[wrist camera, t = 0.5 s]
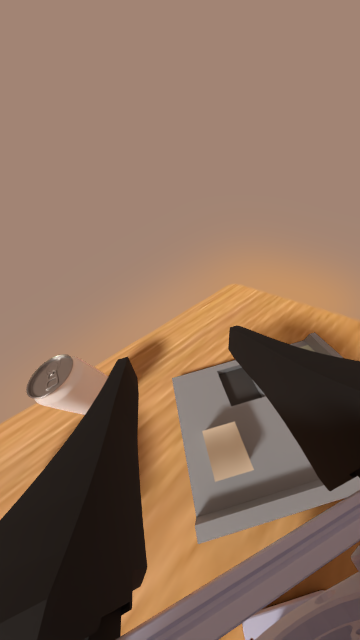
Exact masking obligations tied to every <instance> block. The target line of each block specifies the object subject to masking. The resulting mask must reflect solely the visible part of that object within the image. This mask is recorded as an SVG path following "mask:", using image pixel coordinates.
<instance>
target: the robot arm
mask: <svg viewBox="0 0 360 640" xmlns="http://www.w3.org/2000/svg"><path fill="white" fill-rule="evenodd" d="M229 351H230V352H231V354H232V355H233V357H234V358H235V360H236V361H237V362H238V363H239V365H240V366H241V367H242V368H243V369H244V371H245V372H246V373H247V374H248V375H249V376H250V377H251V379H252V380H253V381H254V382H255V383H256V384H257V385H258V387H259V388H260V389H261V390H262V392H263V393H264V394H265V396H266V397H267V398H268V400H269V401H270V402H271V404H272V405H273V407H274V408H275V409H276V411H277V412H278V414H279V415H280V417H281V418H282V420H283V421H284V423H285V424H286V426H287V427H288V429H289V430H290V432H291V433H292V435H293V437H294V438H295V440H296V441H297V443H298V444H299V446H300V448H301V449H302V451H303V453H304V454H305V456H306V457H307V459H308V461H309V462H310V464H311V466H312V467H313V469H314V471H315V473H316V474H317V476H318V478H319V479H320V480H321V482H322V483H323V484H324V486H325V487H326V488H327V489H328V490H329V491H332V490H334V489H335V488H337V487H339V486H341V485H343V484H344V483H346V482H348V481H350V480H352V479H353V478H355V477H357V476H358V477H359V478H360V361H354V360H349V359H344V358H340V357H335V356H331V355H326V354H322V353H318V352H314V351H310V350H307V349H303V348H299V347H296V346H293V345H290V344H287V343H284V342H281V341H278V340H275V339H272V338H270V337H267V336H264V335H262V334H259V333H256V332H254V331H251V330H249V329H246V328H243V327H241V326H234V327H230V333H229ZM138 395H139V393H138V381H137V376H136V374H135V372H134V369H133V367H132V365H131V363H130V360H129V358H128V357H125V358H122V359H118V360H117V362H116V364H115V366H114V367H113V369H112V371H111V373H110V375H109V377H108V378H107V380H106V382H105V384H104V385H103V387H102V389H101V390H100V392H99V394H98V395H97V397H96V399H95V400H94V402H93V403H92V405H91V407H90V408H89V410H88V411H87V413H86V414H85V416H84V417H83V419H82V420H81V422H80V423H79V424H78V426H77V427H76V429H75V430H74V431H73V433H72V434H71V435H70V437H69V438H68V440H67V441H66V442H65V443H64V445H63V446H62V447H61V449H60V450H59V451H58V452H57V454H56V455H55V456H54V457H53V459H52V460H51V461H50V462H49V464H48V465H47V466H46V467H45V469H44V470H43V471H42V472H41V474H40V475H39V476H38V477H37V478H36V480H35V481H34V482H33V483H32V484H31V485H30V487H29V488H28V489H27V490H26V491H25V493H24V494H23V495H22V496H21V497H20V498H19V500H18V501H17V502H16V503H15V504H14V505H13V506H12V508H11V509H10V510H9V511H8V512H7V513H6V514H5V516H4V517H3V518H2V519H1V520H0V640H218V639H220V638H221V637H223V636H224V635H226V634H227V633H228V632H230V631H231V630H233V629H234V628H236V627H237V626H238V625H240V624H241V623H242V625H243V632H244V636H245V640H250V639H251V638H253V639H254V640H360V545H359V546H358V547H357V548H356V550H355V551H354V552H353V554H352V555H351V560H352V562H353V563H354V565H355V566H356V568H357V569H358V571H359V572H357V573H355V574H354V575H352V576H350V577H348V578H347V579H345V580H343V581H341V582H340V583H338V584H336V585H334V586H333V587H331V588H329V589H327V590H326V591H324V590H320V591H317V592H314V593H311V594H308V595H305V596H302V597H299V598H296V599H293V600H290V601H287V602H284V603H281V604H278V605H275V606H271V607H268V608H265V609H263V608H264V607H266V606H267V605H268V604H270V603H271V602H273V601H274V600H276V599H277V598H278V597H280V596H281V595H283V594H284V593H286V592H287V591H289V590H290V589H291V588H293V587H294V586H296V585H297V584H299V583H300V582H301V581H303V580H304V579H306V578H307V577H309V576H310V575H311V574H313V573H314V572H316V571H317V570H319V569H320V568H321V567H323V566H324V565H326V564H327V563H329V562H330V561H331V560H333V559H334V558H336V557H337V556H339V555H340V554H341V553H343V552H344V551H346V550H347V549H349V548H350V547H351V546H353V545H354V544H356V543H357V542H359V541H360V490H358V491H357V492H355V493H354V494H352V495H350V496H349V497H347V498H345V499H344V500H342V501H341V502H339V503H337V504H336V505H334V506H332V507H331V508H329V509H328V510H326V511H324V512H323V513H321V514H319V515H318V516H316V517H314V518H313V519H311V520H310V521H308V522H306V523H305V524H303V525H301V526H300V527H298V528H297V529H295V530H293V531H292V532H290V533H288V534H287V535H285V536H284V537H282V538H280V539H279V540H277V541H275V542H274V543H272V544H271V545H269V546H267V547H266V548H264V549H262V550H261V551H259V552H258V553H256V554H254V555H253V556H251V557H249V558H248V559H246V560H245V561H243V562H241V563H240V564H238V565H236V566H235V567H233V568H232V569H230V570H228V571H227V572H225V573H223V574H222V575H220V576H218V577H217V578H215V579H214V580H212V581H210V582H209V583H207V584H205V585H204V586H202V587H201V588H199V589H197V590H196V591H194V592H192V593H191V594H189V595H188V596H186V597H184V598H183V599H181V600H179V601H178V602H176V603H175V604H173V605H171V606H170V607H168V608H166V609H165V610H163V611H162V612H160V613H158V614H157V615H155V616H153V617H152V618H150V619H149V620H147V621H145V622H144V623H142V624H140V625H139V626H137V627H136V628H134V629H132V630H131V631H129V632H127V633H126V634H124V635H122V636H121V637H120V630H121V615H123V614H124V613H126V612H128V611H129V610H131V609H132V591H133V590H135V589H137V588H138V587H140V586H141V584H142V581H143V579H144V576H145V573H146V570H147V560H146V550H145V540H144V529H143V518H142V506H141V493H140V479H139V464H138V445H137V429H138ZM261 609H262V610H261Z"/></svg>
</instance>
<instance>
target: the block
mask: <svg viewBox="0 0 360 640" xmlns="http://www.w3.org/2000/svg"><path fill="white" fill-rule="evenodd" d="M202 432H203V436H204V440H205V444H206V448H207V452H208V456H209V460H210V463H211V467H212V471H213V475H214V479H215V482H216V481H220V480H223V479H226V478H229V477H233V476H236V475H239V474H243V473H246V472H249V471H252V470H254V469H253V466H252V464H251V461H250V459H249V456H248V454H247V451H246V449H245V446H244V444H243V441H242V439H241V436H240V434H239V431H238V429H237V426H236V424H235V421H234V422H231V423H228V424H224V425H221V426H218V427H214V428H211V429H208V430H204V431H202Z"/></svg>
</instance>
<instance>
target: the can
mask: <svg viewBox="0 0 360 640" xmlns="http://www.w3.org/2000/svg"><path fill="white" fill-rule="evenodd" d="M107 378H108V376H107V375H105V374H104V373H102V372H101V371H99V370H97V369H96V368H94V367H93V366H91V365H90V364H88V363H86V362H85V361H83V360H81V359H80V358H78V357H71V356H69V355H58V356H55V357H53V358H51V359H50V360H48V361H46V362H45V363H44V364H42V365H41V366H40V367H39V368H38V369H37V370H36V371H35V373H34V374H33V375H32V377H31V378H30V380H29V382H28V384H27V389H26V390H27V395H28V396H29V397H31V398H33V399H35V400H36V402H37V403H39V404H41V405H44V406H48V407H52V408H56V409H61V410H65V411H70V412H74V413H79V414H83V415H85V414H86V413H87V411H88V410H89V408H90V407H91V405H92V403H93V402H94V400H95V399H96V397H97V395H98V394H99V392H100V390H101V389H102V387H103V385H104V384H105V382H106V380H107Z"/></svg>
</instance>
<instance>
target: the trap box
mask: <svg viewBox="0 0 360 640" xmlns="http://www.w3.org/2000/svg"><path fill="white" fill-rule="evenodd" d="M290 345H293V346H296V347H299V348H303V349H307V350H310V351H314V352H318V353H322V354H326V355H331V356H335V357H340V358H343V357H342V356H341V355H339V354H338V353H337V352H336V351H335V350H334V349H333V348H332V347H330V346H329V345H328V344H327V343H326V342H325V341H324V340H323V339H321V338H320V337H319V336H318V335H317V334H316V333H311V334H309V335H308V336H307V337H306V338H305V339H304V340H303V341H300V342H296V343H293V344H290ZM172 381H173V386H174V392H175V398H176V403H177V409H178V415H179V420H180V426H181V432H182V437H183V443H184V449H185V455H186V460H187V466H188V472H189V477H190V483H191V489H192V494H193V500H194V506H195V511H196V522H195V529H196V535H197V541H198V544H200V543H203V542H206V541H209V540H213V539H216V538H219V537H222V536H225V535H228V534H232V533H235V532H238V531H241V530H244V529H248V528H251V527H254V526H257V525H260V524H263V523H267V522H270V521H273V520H276V519H279V518H283V517H286V516H289V515H292V514H295V513H298V512H302V511H305V510H308V509H311V508H314V507H317V506H321V505H324V504H327V503H330V502H333V501H337V500H340V499H343V498H346V497H349V496H350V495H352V494H354V493H355V492H357V491H358V490H360V478H359V477H358V476H357V477H355V478H353V479H352V480H350V481H348V482H346V483H344V484H343V485H341V486H339V487H337V488H335V489H334V490H332V491H329V490H328V489H327V488H326V487H325V486H324V484H323V483H322V482H321V480H320V479H319V478H318V476H317V474H316V473H315V471H314V469H313V467H312V466H311V464H310V462H309V461H308V459H307V457H306V456H305V454H304V453H303V451H302V449H301V448H300V446H299V444H298V443H297V441H296V440H295V438H294V437H293V435H292V433H291V432H290V430H289V429H288V427H287V426H286V424H285V423H284V421H283V420H282V418H281V417H280V415H279V414H278V412H277V411H276V409H275V408H274V407H273V405H272V404H271V402H270V401H269V400H268V398H267V397H266V396H265V394H264V393H263V392H262V390H261V389H260V388H259V387H258V385H257V384H256V383H255V382H254V381H253V380H252V379H251V377H250V376H249V375H248V374H247V373H246V372H245V371H244V369H243V368H242V367H241V366H240V365H239V363H238V362H237V361H236V360H234V361H230V362H227V363H223V364H220V365H217V366H213V367H210V368H206V369H203V370H199V371H196V372H192V373H189V374H185V375H182V376H178V377H175V378H172ZM234 421H235V424H236V426H237V429H238V431H239V434H240V436H241V439H242V441H243V444H244V446H245V449H246V451H247V454H248V456H249V459H250V461H251V464H252V466H253V469H254V470H252V471H249V472H246V473H243V474H239V475H236V476H233V477H229V478H226V479H223V480H220V481H216V482H215V479H214V475H213V471H212V467H211V463H210V460H209V456H208V452H207V448H206V444H205V440H204V436H203V432H202V431H204V430H208V429H211V428H214V427H218V426H221V425H224V424H228V423H231V422H234Z"/></svg>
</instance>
